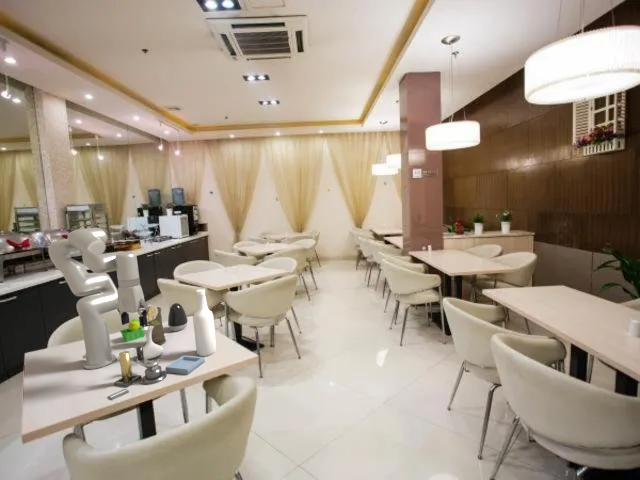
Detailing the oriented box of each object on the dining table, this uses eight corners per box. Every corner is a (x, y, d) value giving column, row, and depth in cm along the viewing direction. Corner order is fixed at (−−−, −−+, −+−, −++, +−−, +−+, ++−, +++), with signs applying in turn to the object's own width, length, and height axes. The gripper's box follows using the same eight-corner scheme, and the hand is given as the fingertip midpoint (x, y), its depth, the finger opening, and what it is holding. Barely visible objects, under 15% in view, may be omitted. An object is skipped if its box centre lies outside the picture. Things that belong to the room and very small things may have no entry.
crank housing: (114, 385, 135) (112, 375, 134) (138, 370, 146) (137, 361, 146) (148, 389, 129) (147, 379, 129) (171, 374, 141) (170, 364, 140)
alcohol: (193, 354, 159) (186, 291, 155) (209, 347, 166) (203, 286, 162) (204, 358, 153) (197, 293, 150) (220, 351, 160) (214, 288, 157)
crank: (161, 367, 138) (159, 351, 137) (150, 372, 134) (148, 355, 134) (145, 359, 146) (143, 344, 145) (134, 364, 143) (132, 348, 142)
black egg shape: (164, 332, 189) (161, 306, 187) (175, 326, 199) (172, 300, 197) (181, 333, 187) (178, 306, 185) (191, 326, 197) (188, 300, 196)
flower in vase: (131, 360, 156) (124, 307, 153) (151, 349, 167) (145, 300, 164) (153, 363, 152) (146, 309, 149) (172, 352, 162) (166, 301, 159)
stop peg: (120, 383, 136) (116, 354, 134) (128, 379, 139) (124, 350, 138) (127, 384, 134) (123, 355, 133) (135, 379, 138) (131, 351, 137)
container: (169, 341, 176) (165, 307, 174) (152, 348, 168) (148, 313, 166) (159, 338, 181) (155, 305, 179) (142, 345, 173) (138, 311, 171)
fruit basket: (143, 333, 191) (141, 313, 190) (148, 337, 184) (146, 316, 183) (120, 339, 183) (118, 319, 182) (125, 344, 177) (122, 322, 175)
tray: (166, 372, 143) (165, 367, 143) (183, 360, 153) (183, 355, 153) (188, 374, 140) (187, 369, 139) (204, 362, 150) (204, 357, 150)
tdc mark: (125, 389, 131) (124, 388, 131) (128, 392, 129) (128, 390, 129) (107, 397, 126) (107, 396, 126) (111, 400, 124) (111, 398, 124)
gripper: (105, 285, 137) (110, 326, 139) (137, 286, 131) (143, 329, 133) (121, 280, 144) (126, 320, 146) (153, 281, 138) (158, 322, 140)
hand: (134, 324), depth 139 cm, fingers open, 9 cm apart
